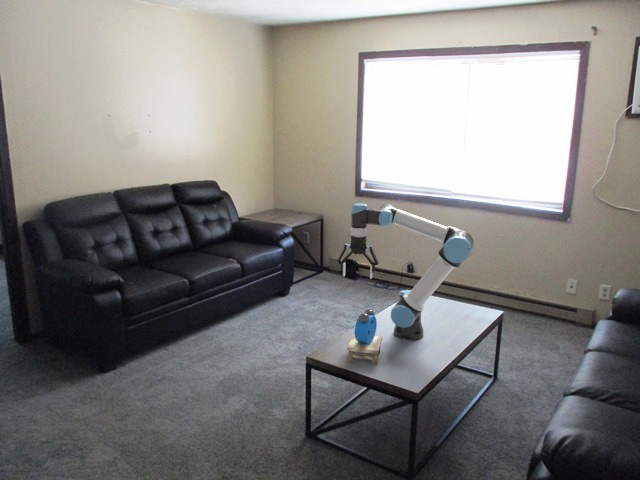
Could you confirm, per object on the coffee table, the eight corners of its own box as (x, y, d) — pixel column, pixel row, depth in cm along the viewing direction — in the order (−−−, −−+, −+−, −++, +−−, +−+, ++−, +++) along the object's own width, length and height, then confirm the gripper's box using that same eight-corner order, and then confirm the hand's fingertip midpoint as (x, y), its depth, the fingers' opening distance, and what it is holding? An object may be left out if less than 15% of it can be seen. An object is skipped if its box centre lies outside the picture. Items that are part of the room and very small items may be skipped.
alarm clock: (364, 335, 257) (365, 306, 253) (376, 338, 254) (377, 308, 251) (353, 345, 245) (354, 315, 242) (366, 348, 243) (367, 317, 239)
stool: (381, 351, 258) (382, 336, 256) (377, 366, 242) (378, 350, 241) (352, 347, 261) (353, 333, 259) (346, 362, 246) (347, 347, 244)
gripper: (385, 235, 262) (383, 276, 267) (335, 232, 268) (334, 272, 273) (383, 238, 255) (381, 281, 260) (332, 235, 261) (331, 277, 266)
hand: (357, 277), depth 267 cm, fingers open, 13 cm apart
